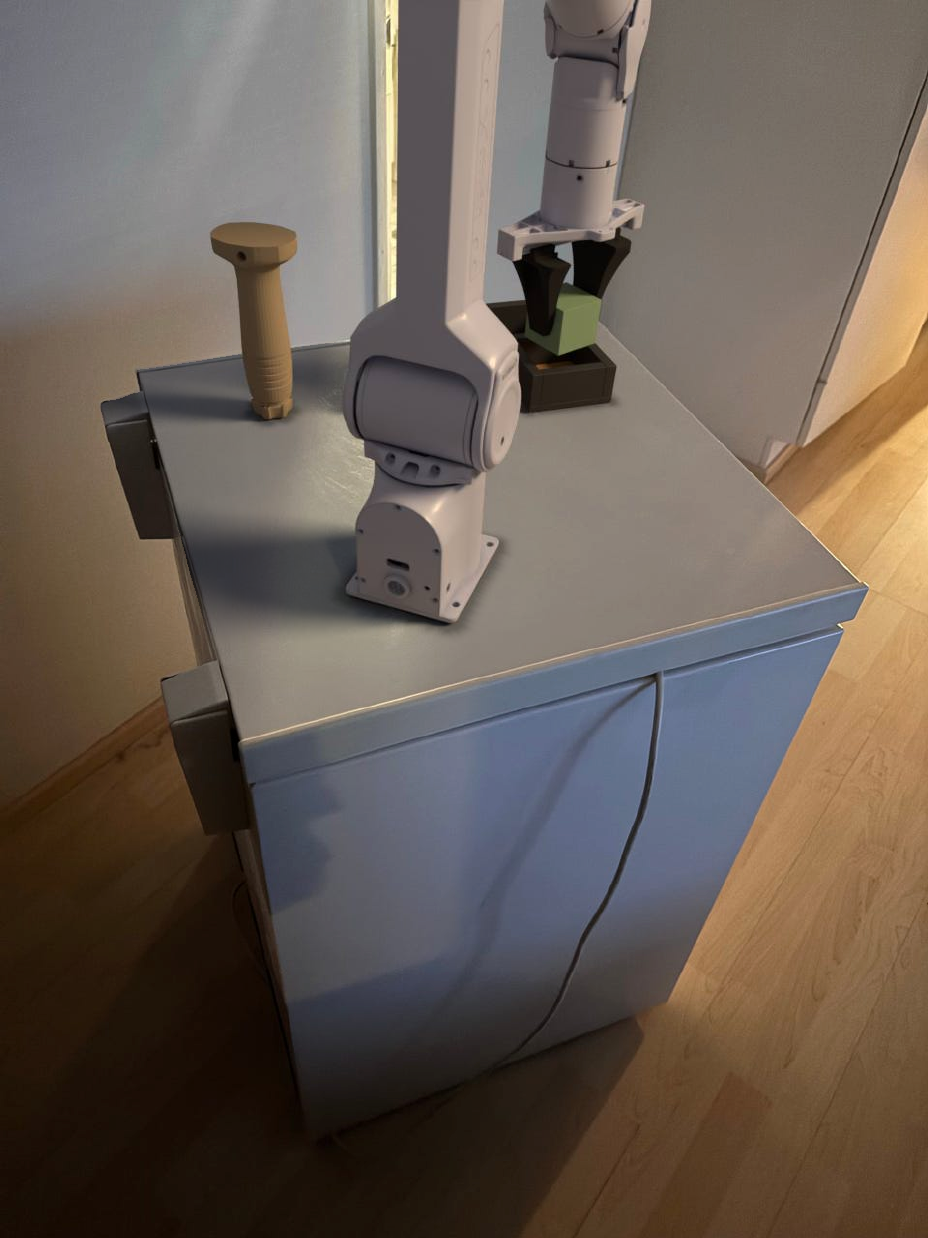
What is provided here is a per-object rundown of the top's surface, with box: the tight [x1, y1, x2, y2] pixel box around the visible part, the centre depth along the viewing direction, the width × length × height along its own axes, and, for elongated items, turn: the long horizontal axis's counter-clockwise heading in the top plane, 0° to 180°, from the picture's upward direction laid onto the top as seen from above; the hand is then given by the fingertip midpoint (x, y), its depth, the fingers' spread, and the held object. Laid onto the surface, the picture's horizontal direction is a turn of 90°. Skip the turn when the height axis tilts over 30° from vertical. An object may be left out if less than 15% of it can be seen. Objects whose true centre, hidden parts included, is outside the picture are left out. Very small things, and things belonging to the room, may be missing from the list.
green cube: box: [525, 281, 602, 356], centre depth 78 cm, size 4×4×4 cm
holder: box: [485, 299, 618, 414], centre depth 84 cm, size 8×15×4 cm, turn 18°
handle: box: [209, 221, 298, 420], centre depth 72 cm, size 5×6×15 cm
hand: (561, 324), depth 79 cm, fingers closed on green cube, 4 cm apart
